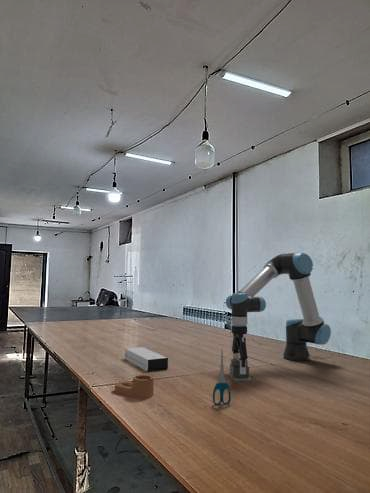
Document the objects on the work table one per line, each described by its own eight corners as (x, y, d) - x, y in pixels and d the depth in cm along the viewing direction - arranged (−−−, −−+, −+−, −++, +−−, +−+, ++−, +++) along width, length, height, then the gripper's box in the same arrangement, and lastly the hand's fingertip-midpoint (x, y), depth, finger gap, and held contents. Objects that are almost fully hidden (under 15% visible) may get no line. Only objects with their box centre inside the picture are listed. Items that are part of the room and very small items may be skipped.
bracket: (157, 394, 147) (157, 376, 148) (144, 400, 140) (144, 381, 141) (124, 386, 157) (124, 370, 158) (110, 391, 150) (110, 374, 151)
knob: (229, 373, 178) (229, 356, 179) (245, 373, 179) (245, 356, 180) (233, 377, 170) (233, 360, 171) (249, 377, 171) (249, 360, 172)
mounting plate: (244, 374, 181) (244, 363, 181) (250, 380, 169) (250, 369, 169) (228, 374, 180) (228, 363, 180) (233, 380, 168) (233, 369, 169)
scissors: (213, 405, 135) (214, 350, 137) (212, 404, 136) (213, 349, 138) (230, 404, 137) (230, 349, 138) (229, 403, 138) (229, 348, 139)
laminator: (167, 370, 188) (168, 357, 189) (145, 372, 182) (146, 360, 183) (142, 357, 218) (142, 346, 218) (122, 359, 212) (123, 348, 212)
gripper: (226, 322, 189) (225, 364, 187) (238, 328, 164) (237, 377, 162) (240, 322, 189) (240, 364, 188) (254, 328, 165) (254, 377, 163)
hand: (239, 370), depth 175 cm, fingers open, 13 cm apart
